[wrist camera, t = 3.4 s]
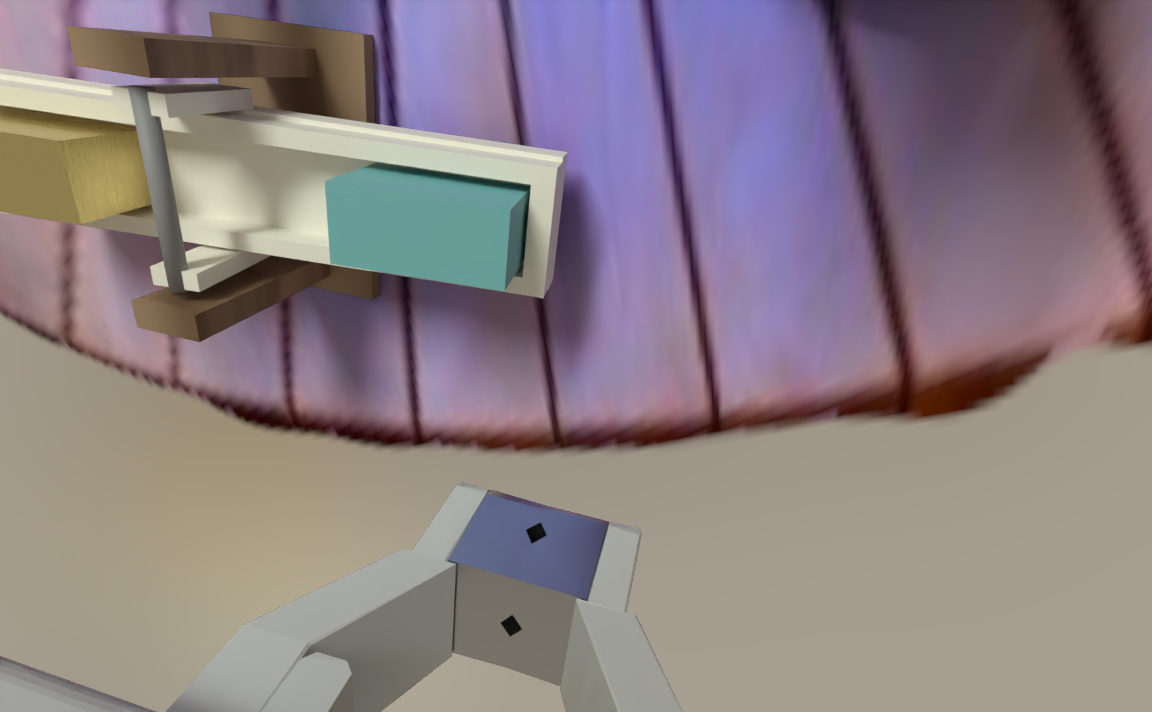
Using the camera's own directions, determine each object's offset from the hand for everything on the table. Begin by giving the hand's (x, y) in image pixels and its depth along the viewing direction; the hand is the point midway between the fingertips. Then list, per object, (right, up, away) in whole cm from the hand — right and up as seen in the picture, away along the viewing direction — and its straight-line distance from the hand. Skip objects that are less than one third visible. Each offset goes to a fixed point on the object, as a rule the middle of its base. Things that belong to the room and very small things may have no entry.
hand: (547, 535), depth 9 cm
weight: (-22, +12, +18) cm, 31 cm away
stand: (-14, +13, +21) cm, 28 cm away
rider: (-5, +9, +17) cm, 20 cm away
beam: (-15, +12, +19) cm, 27 cm away
